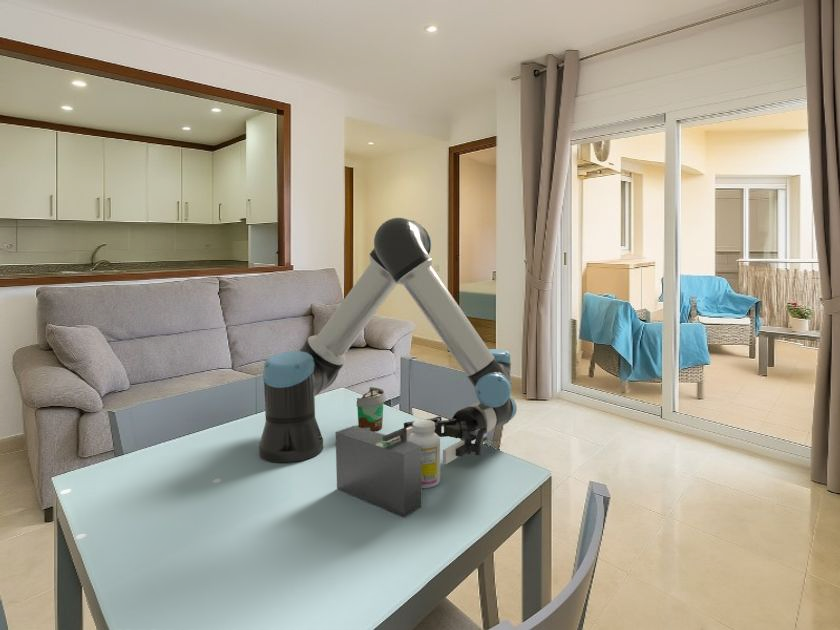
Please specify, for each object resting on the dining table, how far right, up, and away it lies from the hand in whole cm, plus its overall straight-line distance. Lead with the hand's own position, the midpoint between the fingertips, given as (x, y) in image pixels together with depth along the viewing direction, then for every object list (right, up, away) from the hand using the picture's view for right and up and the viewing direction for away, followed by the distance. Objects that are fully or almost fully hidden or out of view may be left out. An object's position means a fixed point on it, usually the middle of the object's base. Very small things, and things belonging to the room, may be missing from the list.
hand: (417, 448), depth 103 cm
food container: (-12, -4, +36) cm, 38 cm away
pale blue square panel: (-7, -7, -3) cm, 10 cm away
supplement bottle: (+1, -8, +3) cm, 9 cm away
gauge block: (-8, -9, -4) cm, 12 cm away
